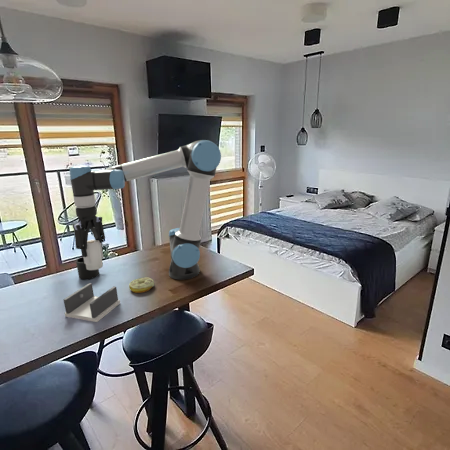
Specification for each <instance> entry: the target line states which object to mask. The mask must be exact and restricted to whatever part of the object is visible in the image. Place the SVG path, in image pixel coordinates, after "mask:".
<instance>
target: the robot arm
mask: <svg viewBox="0 0 450 450" xmlns="http://www.w3.org/2000/svg"><path fill="white" fill-rule="evenodd" d="M221 159H222V153H221V150H220V148H219V146H218V145H217V144H216V143H215V142H213V141H212V140H209V139H207V140H206V139H199V140H195V141H193V142H191V143H188V144H186V145H182V146H179V148H178V149H176V150H171V151H168V152H165V153H160V154H156V155H153V156H148V157H145V158H141V159H138V160H133V161H129V162H125V163H122V164H118V165H114V166H113V165H111V166H107V168H105V169H104V170H103V169H102V170H92V169H91V167H90V166H89V165H77V166H76V165H75V166H72V167H70V168H69V176H70V179H69V181H70V185H71V191H72V194H73V195H72V196H73V202H74V206H75V214H76V217H77V218H78V220H77V223H76V224H72V229H73V231H74V233H73V234H74V239H75V241H74V242H75V249H77V250H80V251H81V252H80V253H81V257H83V258H84V263H85V264H91V260H90V254H89V248H87V241H88V240H89V232H90V231H91V234H92V236H93V238H94V240H99V242H100V249H101V256H102V258H104V253H103V243H104V241H105V239H106V234H105V229H104V225H103V217H102V216H97V214H98V210H97V205H96V197H95V191H103V190H104V191H105V190H118V189H119V190H120V189H124V188H125V185H126V182H129V181H133V180H137V179H142V178H144V177H148V176H152V175H156V174H161V173H164V172H167V171H168V172H169V171H171V170H175V169H179V168H184V169H187V170H186V171H187V172H188V174H189V178H188V183H187V190H186V194H185V198H184V199H185V200H184V202H183V203H184V205H183V210H182V216H181V220H180V224H179V227H176V228H172V229H170V230H169V231H168V238H169V240H168V241H169V250H170V258H171V260H170V264H169V269H168V276H169V277H170V278H171V279H173V280H177V281H181V280H183V281H185V280H191V279H194V278H195V276H196V277H197V276H199V275H200V273H201V270H200V265H199V263H198V262H199V261H200V257H201V252H200V247H201V243H202V236H201V235H200V229H201V227H202V220H203V215H204V211H205V207H206V201H207V197H208V191H209V188H210V187H209V186H210V183H211V182H210V181H212V179H213V178H214V177H215V175H216V172H217V168H218V167H219V165H220V163H221ZM83 245H84V246H83ZM199 272H200V273H199ZM198 274H199V275H198ZM193 277H194V278H193Z"/></svg>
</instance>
